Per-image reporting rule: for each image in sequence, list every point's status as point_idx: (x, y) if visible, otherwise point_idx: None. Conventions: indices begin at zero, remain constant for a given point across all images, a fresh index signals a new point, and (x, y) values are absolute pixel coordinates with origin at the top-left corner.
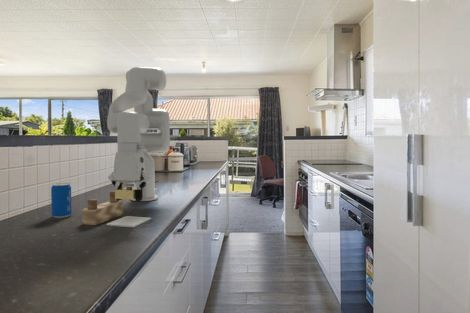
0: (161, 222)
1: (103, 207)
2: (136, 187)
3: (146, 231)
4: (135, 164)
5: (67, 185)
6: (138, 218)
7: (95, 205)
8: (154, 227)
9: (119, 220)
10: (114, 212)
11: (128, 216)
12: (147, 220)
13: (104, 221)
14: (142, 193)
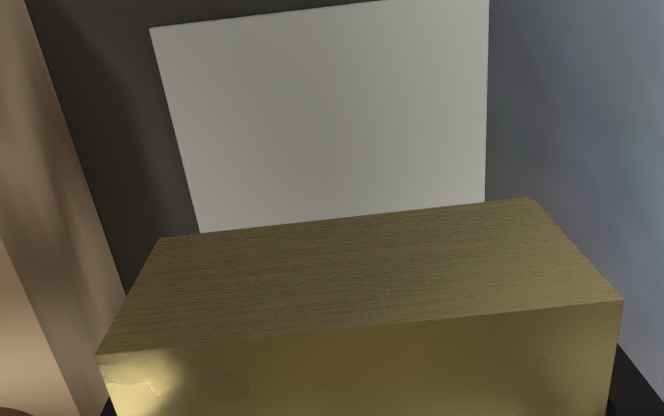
0: (658, 80)
1: (54, 370)
2: (416, 330)
3: (628, 349)
4: None
5: None
6: (362, 79)
7: None
8: (650, 249)
9: (237, 222)
10: (34, 134)
11: (188, 42)
12: (484, 81)
13: (114, 268)
14: (631, 369)
